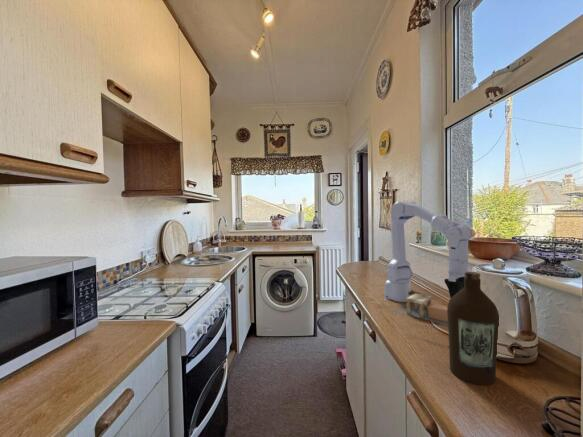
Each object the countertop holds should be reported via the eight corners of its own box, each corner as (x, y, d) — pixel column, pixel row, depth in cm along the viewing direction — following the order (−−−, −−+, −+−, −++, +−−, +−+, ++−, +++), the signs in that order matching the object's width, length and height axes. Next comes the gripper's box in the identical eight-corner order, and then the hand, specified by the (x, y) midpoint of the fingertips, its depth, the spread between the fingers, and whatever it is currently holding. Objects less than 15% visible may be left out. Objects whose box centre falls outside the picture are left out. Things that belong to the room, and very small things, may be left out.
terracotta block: (428, 317, 101) (428, 306, 100) (432, 314, 103) (432, 303, 103) (462, 325, 93) (462, 314, 93) (465, 322, 96) (465, 310, 95)
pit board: (392, 314, 107) (392, 311, 107) (403, 307, 114) (403, 304, 114) (453, 330, 92) (453, 326, 92) (461, 321, 99) (461, 318, 99)
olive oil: (444, 358, 75) (444, 267, 74) (490, 366, 71) (491, 269, 70) (450, 381, 65) (451, 276, 64) (505, 391, 61) (506, 279, 60)
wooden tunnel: (406, 313, 104) (406, 298, 104) (415, 308, 110) (415, 293, 110) (423, 318, 100) (423, 301, 100) (431, 311, 106) (431, 296, 105)
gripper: (465, 264, 88) (465, 305, 89) (476, 258, 98) (476, 295, 99) (441, 261, 93) (441, 300, 94) (454, 256, 104) (454, 291, 104)
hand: (458, 298), depth 97 cm, fingers open, 7 cm apart
